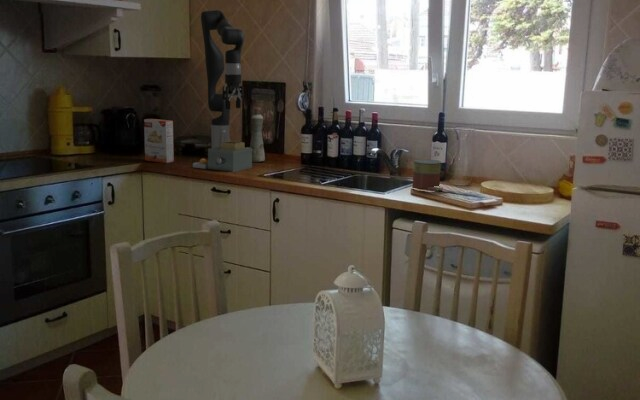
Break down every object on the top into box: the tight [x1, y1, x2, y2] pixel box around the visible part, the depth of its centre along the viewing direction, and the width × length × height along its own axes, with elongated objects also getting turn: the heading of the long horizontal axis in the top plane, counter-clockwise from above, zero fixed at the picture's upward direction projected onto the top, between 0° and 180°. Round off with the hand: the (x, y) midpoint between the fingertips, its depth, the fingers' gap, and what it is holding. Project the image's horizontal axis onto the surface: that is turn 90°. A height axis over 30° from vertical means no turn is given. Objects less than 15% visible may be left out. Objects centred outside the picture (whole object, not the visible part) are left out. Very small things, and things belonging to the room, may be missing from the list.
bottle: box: [249, 106, 266, 163], centre depth 337 cm, size 9×9×28 cm
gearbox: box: [207, 140, 253, 174], centre depth 311 cm, size 18×14×12 cm
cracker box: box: [143, 118, 175, 164], centre depth 329 cm, size 14×6×21 cm, turn 62°
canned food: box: [411, 158, 442, 189], centre depth 275 cm, size 11×11×12 cm
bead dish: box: [192, 161, 208, 170], centre depth 314 cm, size 7×7×2 cm
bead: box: [198, 158, 208, 164], centre depth 314 cm, size 4×4×4 cm
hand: (233, 108), depth 309 cm, fingers open, 8 cm apart
